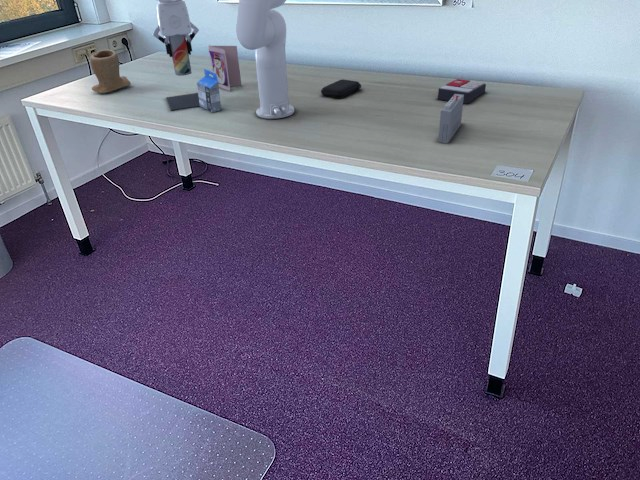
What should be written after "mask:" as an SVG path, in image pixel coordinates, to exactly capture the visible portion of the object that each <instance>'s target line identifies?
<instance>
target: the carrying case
mask: <svg viewBox="0 0 640 480" xmlns="http://www.w3.org/2000/svg"><path fill="white" fill-rule="evenodd" d="M361 89H362V84H361V83H360V82H359V81H357V80H349V79H344V78H343V79H339V80H337V81H334V82H332V83H330V84H328V85H325V86H323V87H322V88H321V89H320V94H321V95H322V96H324V97H329V98H334V99H342V98H344V97H347V96H348V95H349V96H350V94H353V93H355V92H357V91H359V90H361Z"/></svg>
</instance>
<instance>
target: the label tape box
mask: <svg viewBox="0 0 640 480" xmlns="http://www.w3.org/2000/svg"><path fill="white" fill-rule="evenodd" d="M203 70H204V76H203V77H202V78H200V79H199V80H197V82H196V89H197V93H198V96H199V104H200V106H201V107H200V108H203V109H205V110H207V111H208V112H211V113H215V112H216V113H217V112H219V111H222V105H221V104H222V103H221V95H220V87H219V85H218V79H217V75H216V74H215V73H213V72H212V70H209V69H206V68H203Z"/></svg>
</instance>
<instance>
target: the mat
mask: <svg viewBox="0 0 640 480" xmlns="http://www.w3.org/2000/svg"><path fill="white" fill-rule="evenodd" d="M166 100H167V103H168V105H169V108H170V112H173V111H181V110H182V111H183V110H188V109H194V108H202V107H201V106H200V104H199V96H198V92H195V93H188V94H181V95H173V96H167V97H166Z"/></svg>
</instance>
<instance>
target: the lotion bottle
mask: <svg viewBox="0 0 640 480" xmlns="http://www.w3.org/2000/svg"><path fill="white" fill-rule="evenodd" d="M186 40H187V39H186V37H185V35H178V34H177V35H174V36H169V41H168V42H169V44H170V47H171V53H172V57H171V60H172V65H173V70H174V74H175V75H176V76H189V75H191V74H192V66H191V61H190V55H189V54H188V48H187V43H186Z"/></svg>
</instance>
